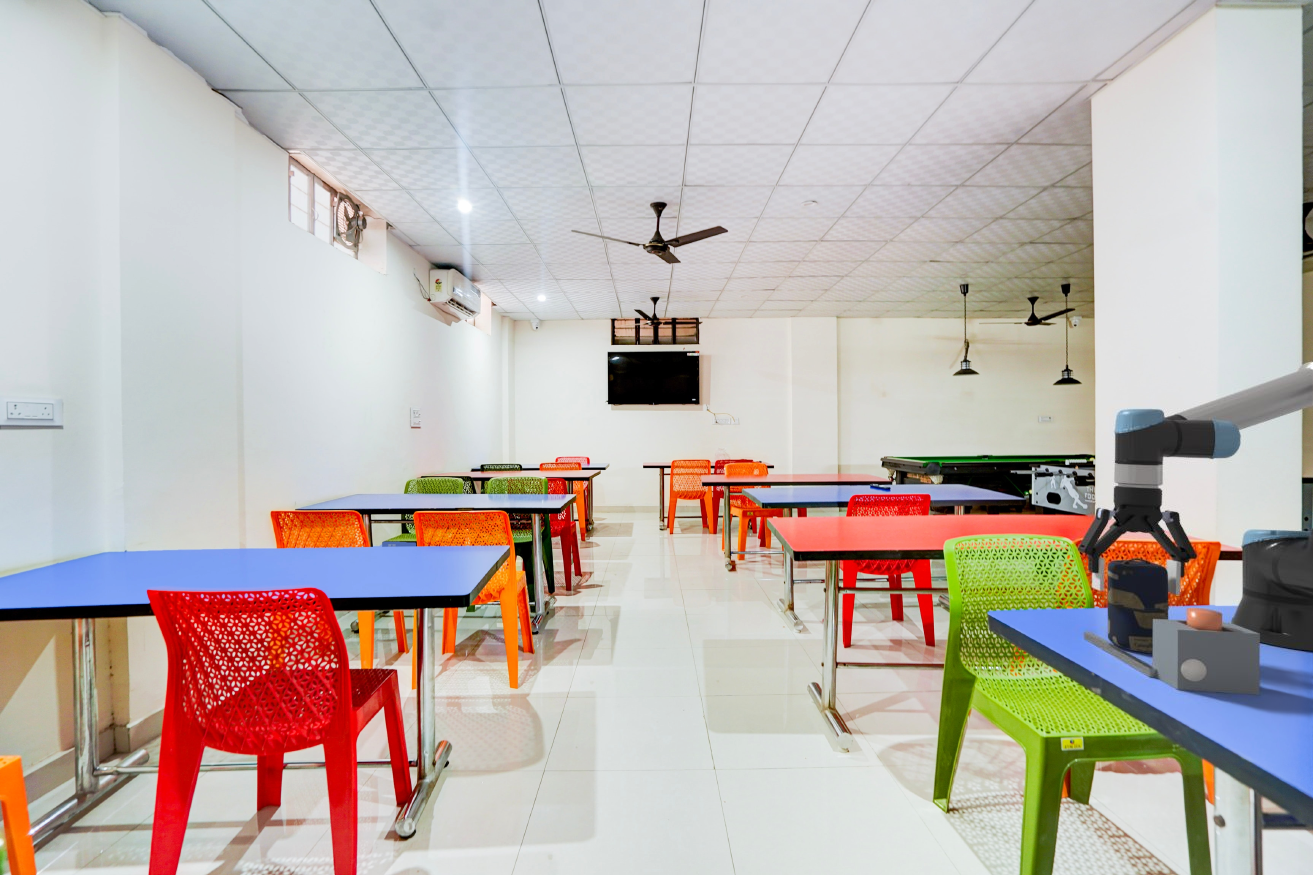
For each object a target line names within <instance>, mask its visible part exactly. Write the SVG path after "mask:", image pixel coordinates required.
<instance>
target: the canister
mask: <svg viewBox="0 0 1313 875" xmlns="http://www.w3.org/2000/svg"><path fill="white" fill-rule="evenodd" d="M1106 572H1107V593H1106V594H1107V596H1106V597H1107V638H1108V641H1110V643H1111V644H1113V645H1115V646H1117V647H1119V648H1123V649H1126V650H1131V651H1136V652H1139V653H1140V652H1141V653H1149V654H1153V619H1166V620H1169V609H1170V607H1169V605H1170V604H1169V592H1168V572H1167V567H1165V566H1163V565H1161V564H1157V563H1154V562H1150V561H1149V560H1147V559H1144V558H1138V557H1135V558H1130V559H1117V560H1111V561H1109V563H1108V564H1107V571H1106Z"/></svg>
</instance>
